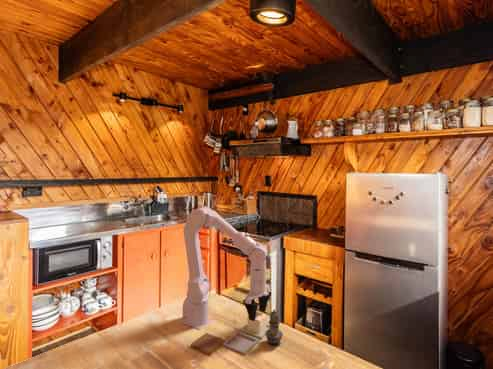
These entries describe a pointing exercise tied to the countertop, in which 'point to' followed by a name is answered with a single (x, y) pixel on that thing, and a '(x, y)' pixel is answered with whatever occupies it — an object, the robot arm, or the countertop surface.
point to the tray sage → (244, 330)
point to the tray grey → (241, 342)
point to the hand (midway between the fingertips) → (257, 315)
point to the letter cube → (257, 323)
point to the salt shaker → (274, 330)
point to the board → (207, 343)
